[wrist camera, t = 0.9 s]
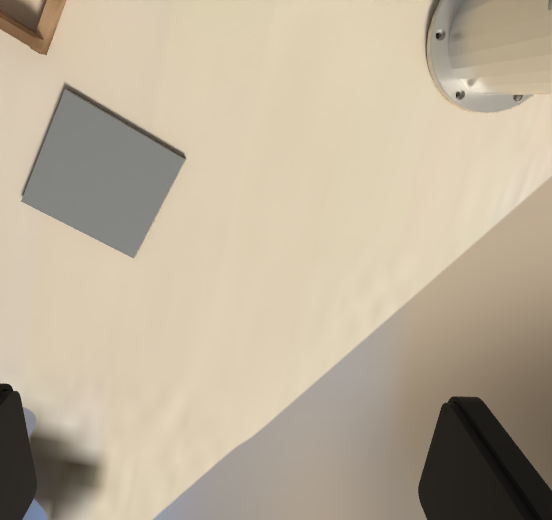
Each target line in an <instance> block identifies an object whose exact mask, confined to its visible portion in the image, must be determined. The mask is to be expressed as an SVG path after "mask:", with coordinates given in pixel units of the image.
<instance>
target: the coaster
mask: <svg viewBox="0 0 552 520" xmlns="http://www.w3.org/2000/svg"><path fill="white" fill-rule="evenodd" d="M185 160H186V158H184V157H182V156H180V155H179V154H177V153H175V152H174V151H172V150H170V149H168V148H167V147H165V146H163V145H162V144H160V143H158V142H157V141H155V140H153V139H151V138H150V137H148V136H146V135H145V134H143V133H141V132H140V131H138V130H136V129H134V128H133V127H131V126H129V125H128V124H126V123H124V122H122V121H121V120H119V119H117V118H116V117H114V116H112V115H111V114H109V113H107V112H105V111H104V110H102V109H100V108H99V107H97V106H95V105H94V104H92V103H90V102H88V101H87V100H85V99H83V98H82V97H80V96H78V95H76V94H75V93H73V92H71V91H70V90H68V89H65V90H64V93H63V95H62V98H61V100H60V103H59V105H58V108H57V110H56V113H55V116H54V118H53V121H52V123H51V126H50V128H49V131H48V134H47V136H46V139H45V141H44V144H43V146H42V149H41V151H40V154H39V157H38V159H37V162H36V164H35V167H34V169H33V172H32V175H31V177H30V180H29V182H28V185H27V187H26V190H25V192H24V195H23V198H22V200H21V201H22V202H24V203H26V204H28V205H29V206H31V207H33V208H35V209H37V210H39V211H41V212H43V213H45V214H47V215H49V216H51V217H53V218H55V219H57V220H59V221H61V222H63V223H65V224H67V225H69V226H71V227H73V228H75V229H77V230H79V231H81V232H83V233H85V234H87V235H89V236H91V237H93V238H95V239H97V240H99V241H101V242H102V243H104V244H106V245H108V246H110V247H112V248H114V249H116V250H118V251H120V252H122V253H124V254H126V255H128V256H130V257H132V258H135V256H136V254H137V252H138V250H139V249H140V247H141V245H142V243H143V241H144V239H145V237H146V235H147V233H148V231H149V229H150V227H151V225H152V223H153V222H154V220H155V218H156V216H157V214H158V212H159V210H160V208H161V206H162V204H163V202H164V200H165V198H166V197H167V195H168V193H169V191H170V189H171V187H172V185H173V183H174V181H175V179H176V177H177V175H178V173H179V172H180V170H181V168H182V166H183V164H184V162H185Z"/></svg>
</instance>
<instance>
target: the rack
mask: <svg viewBox="0 0 552 520" xmlns="http://www.w3.org/2000/svg"><path fill="white" fill-rule="evenodd" d="M65 2H66V0H47V1H46V4H45V7H44V10H43V13H42V15H41V18H40V21H39V24H38V27H37V30H36V32H34V31H32V30H31V29H29V28H27V27H26V26H24V25H22V24H21V23H19V22H17V21H16V20H14V19H13V18H11V17H9V16H8V15H6V14H4V13H3V12H1V11H0V29H1V30H3V31H5V32H6V33H8V34H10V35H11V36H13V37H15V38H16V39H18V40H20V41H21V42H23V43H25V44H26V45H28V46H30V48H31V49H33V50H34V51H36V52H38V53H39V54H44V55H46V54H47V52H48V49H49V46H50V43H51V41H52V38H53V35H54V32H55V30H56V27H57V24H58V21H59V19H60V16H61V13H62V10H63V8H64V5H65Z"/></svg>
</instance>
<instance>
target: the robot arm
mask: <svg viewBox="0 0 552 520" xmlns="http://www.w3.org/2000/svg"><path fill="white" fill-rule="evenodd" d="M436 33H438V35H439V38H438V39H436ZM427 62H428V66H429V70H430V74H431V77H432V79H433V81H434V83H435V85H436V87H437V88H438V90H439V91H440V92H441V94H442V95H443V96H444V97H445V98H446V99H447V100H448V101H449V102H451V103H452V104H453V105H455V106H457V107H459V108H461V109H463V110H467V111H471V112H477V113H494V112H500V111H504V110H507V109H511V108H513V107H515V106H517V105H520V104H521V103H523V102H525V101H526V100H527V99H529V98H530V97H532V96H533V95H535V94H552V0H440V2H439V3H438V6H437V8H436V10H435V12H434V15H433V17H432V20H431V24H430V28H429V31H428V39H427ZM456 92H458V96H457V97H456ZM514 95H515V97H514V98H513V96H514ZM36 488H37V479H36V474H35V469H34V464H33V459H32V454H31V449H30V443H29V438H28V433H27V428H26V423H25V418H24V413H23V407H22V402H21V397H20V394H19V393H18V392H17V391H13V389H12V387H11V386H10V385H9V384H0V520H22V519H23V517H24V515H25V513H26V512H27V510H28V508H29V506H30V504H31V503H32V501H33V499H34V496H35V493H36ZM418 493H419V499H420V503H421V506H422V508H423V510H424V513H425V515H426V518H427V520H552V491H551V489H550V488H549V487H548V485H547V484H546V483H545V481H544V480H543V479H542V478H541V476H540V475H539V474H538V472H537V471H536V470H535V468H534V467H533V466H532V464H531V463H530V462H529V461H528V459H527V458H526V457H525V455H524V454H523V453H522V452H521V450H520V449H519V448H518V446H517V445H516V444H515V442H514V441H513V440H512V438H511V437H510V436H509V435H508V433H507V432H506V431H505V429H504V428H503V427H502V425H501V424H500V423H499V421H498V420H497V419H496V418H495V416H494V415H493V414H492V413H491V411H490V410H489V408H488V407H487V406H486V405H485V403H484V402H483V401H482V400H481V399H480V398H478V397H451V398H450V399H449V401H448V403H444V404H443V405H442V407H441V411H440V414H439V417H438V421H437V424H436V428H435V431H434V435H433V438H432V441H431V445H430V448H429V452H428V455H427V459H426V462H425V466H424V469H423V472H422V476H421V480H420V483H419V487H418Z"/></svg>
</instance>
